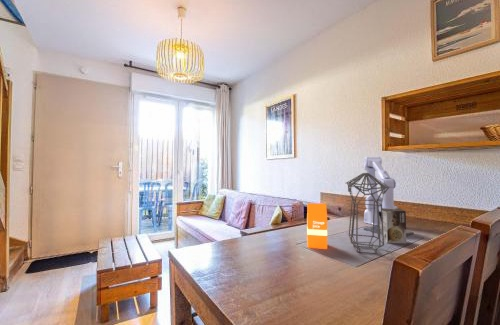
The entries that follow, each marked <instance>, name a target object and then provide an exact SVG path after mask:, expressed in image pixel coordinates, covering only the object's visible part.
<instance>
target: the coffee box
mask: <svg viewBox="0 0 500 325" xmlns="http://www.w3.org/2000/svg"><path fill="white" fill-rule="evenodd" d="M382 212H383V233H384V243H386V244H404V245H405V244H407V235H406V230H407V215H406V214H407V211H406V210H404V209H402V208H397V209H382Z"/></svg>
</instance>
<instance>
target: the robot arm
mask: <svg viewBox="0 0 500 325" xmlns="http://www.w3.org/2000/svg"><path fill="white" fill-rule="evenodd" d="M382 163H383V160H382V158H381V156H365V157H364V158H363V168H364V170H365V171H366V173H369V174H371V175H372V176H374V177H375V178H377V179H378V180H379V182H380V181H381V182H382V184H383V183H384V184H385V186H386V185H387V186H388V187H390V188H389V189H388V190H387V191H386V193H385V194H384V196H383V194H381V196H380V198H379V200H378V202H379V203H380V204H381V203H382V209H398V206H396V205H395V203H394V202H395V199H394V198H395V196H394V194H395V193H394V189H395V188H396V186H397V185H396V184H397V183H396V180H395V179H394V178H393V177H391V176H390V175H389V173H388V172H387V170H385V169H384V167H383V166H382ZM368 177H369V176H368ZM369 180H370V183H371V184H373V183H375V182H376V181H375V180H374V179H373V180H374V181H375V182H374V181H373V180H372V179H371V178H370V177H369ZM368 182H369V181H368ZM376 183H377V182H376ZM384 184H383V185H384ZM375 185H376V184H375ZM371 186H372V187H373V186H374V185H371ZM387 186H386V187H387ZM368 188H371V187H370V185H369V186H368ZM373 188H378V185H376V186H375V187H373ZM382 189H383V188H382ZM386 189H387V188H386ZM386 189H385V190H386ZM371 190H372V193H374V192H376V191H378V189H371ZM371 190H369V192H370V193H371ZM369 192H368V194H370V193H369ZM378 193H379V192H377V193H375V194H373V196H374V198H375V200H376V201H377V199H378V197H379V195H380V194H378ZM383 193H384V190H383ZM382 197H383V202H382ZM364 200H374V199H373V197H372V196H371V195H367V196H366V197H365V199H364ZM375 200H374V201H375ZM374 201H364V204H373V205H364V206H365V208H366V209H365V210H364V213H363V223H365V224H369V225H373V208H374ZM379 203H378V205H380V204H379ZM375 205H377V204H376V202H375ZM379 222H380V224H382V221H381V206H379ZM374 226H378V222H377V206H375V216H374Z"/></svg>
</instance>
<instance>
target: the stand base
mask: <svg viewBox="0 0 500 325" xmlns="http://www.w3.org/2000/svg"><path fill="white" fill-rule="evenodd" d="M363 230H365V231H367V232H371V233H373V225H372V226H366V227H363ZM374 234H378V225H374ZM409 234H410V235H414V234H415V232H414V231H412V230H409V229H406V236H408V235H409ZM380 235H382V224H380Z"/></svg>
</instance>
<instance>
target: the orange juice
mask: <svg viewBox="0 0 500 325" xmlns="http://www.w3.org/2000/svg"><path fill="white" fill-rule="evenodd" d="M306 207H307V210H306V211H307V213H306V244H307V248H308V249H321V250H328V213H327V212H328V211H327V203H312V202H309V203H307V206H306Z"/></svg>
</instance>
